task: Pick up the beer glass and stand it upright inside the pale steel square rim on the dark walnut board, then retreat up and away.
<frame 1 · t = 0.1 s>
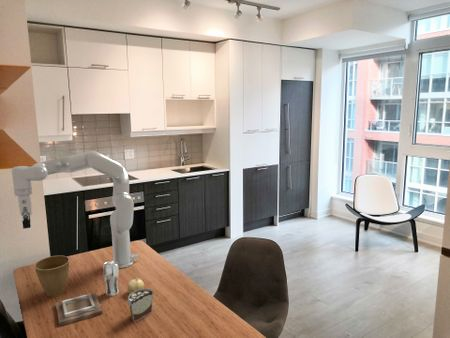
hand: (26, 225, 169), 31 cm above the table, tool pointing down, fingers open, 9 cm apart
plant pot: (55, 293, 165), on the table
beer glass: (112, 293, 165), on the table
food container: (138, 314, 148), on the table
holder board: (78, 309, 151), on the table
onion: (135, 292, 166), on the table
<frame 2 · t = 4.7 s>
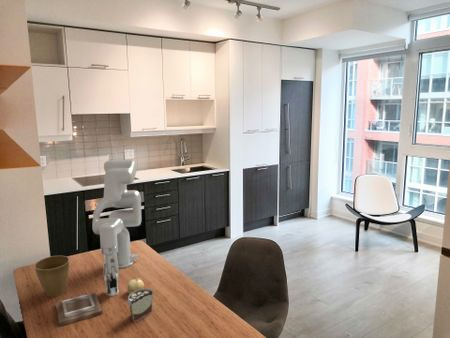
hand: (111, 283, 164), 5 cm above the table, tool pointing down, fingers closed on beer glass, 6 cm apart
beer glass: (112, 293, 165), on the table, touching gripper
everything else where it was.
when the fingers open (7 cm above the table, at t = 11.2 s): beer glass stays where it is, resting on holder board.
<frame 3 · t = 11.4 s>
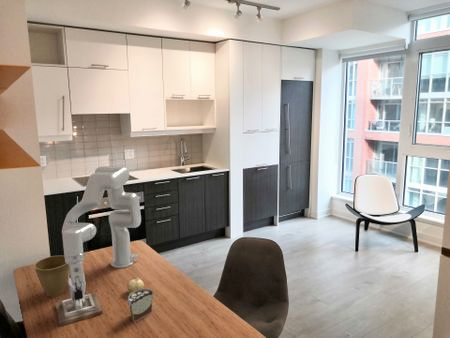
hand: (77, 294, 150), 7 cm above the table, tool pointing down, fingers open, 8 cm apart
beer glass: (79, 307, 151), point 1 cm above the table, touching holder board
everything else where it was.
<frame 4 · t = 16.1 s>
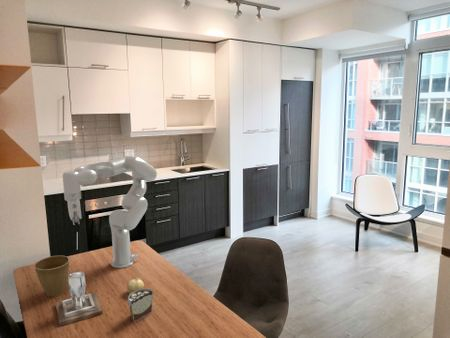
hand: (75, 229, 172), 28 cm above the table, tool pointing down, fingers open, 9 cm apart
nothing on the table moved.
at the end: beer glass 0.2 cm off-centre on the holder board, point 1.3 cm above the holder board's base; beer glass tilted 0°; the gripper is holding nothing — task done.
